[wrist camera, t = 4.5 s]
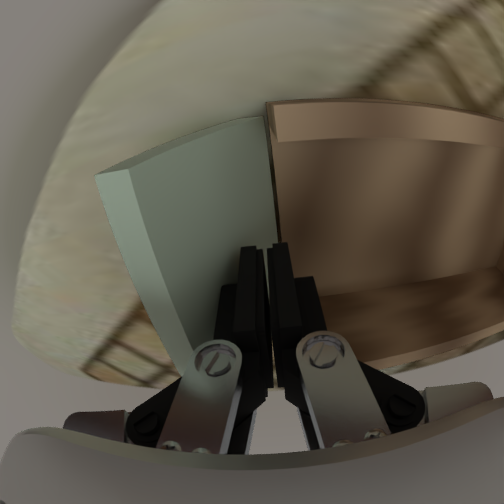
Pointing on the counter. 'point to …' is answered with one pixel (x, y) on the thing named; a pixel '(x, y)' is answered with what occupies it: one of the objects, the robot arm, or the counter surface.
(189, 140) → the panel
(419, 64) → the counter surface
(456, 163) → the crate
